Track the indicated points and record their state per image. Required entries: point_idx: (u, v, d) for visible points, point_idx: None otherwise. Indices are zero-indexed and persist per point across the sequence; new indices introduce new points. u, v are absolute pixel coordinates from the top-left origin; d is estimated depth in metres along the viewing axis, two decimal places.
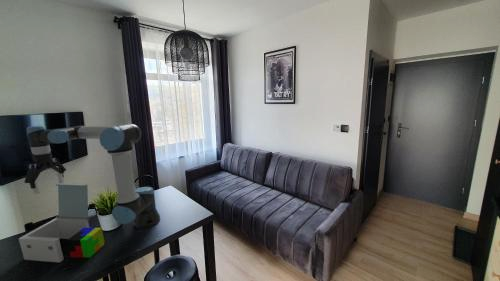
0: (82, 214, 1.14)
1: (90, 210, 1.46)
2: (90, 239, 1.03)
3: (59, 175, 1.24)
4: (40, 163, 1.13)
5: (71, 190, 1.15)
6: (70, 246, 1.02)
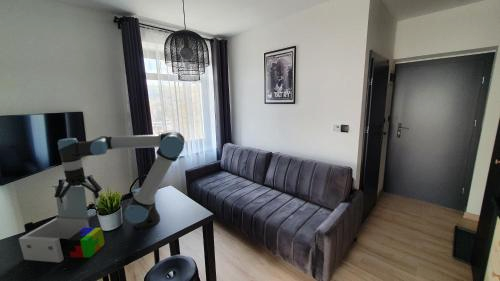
0: (82, 214, 1.14)
1: (90, 210, 1.46)
2: (90, 239, 1.03)
3: None
4: (68, 179, 1.03)
5: (69, 191, 1.13)
6: (70, 246, 1.02)
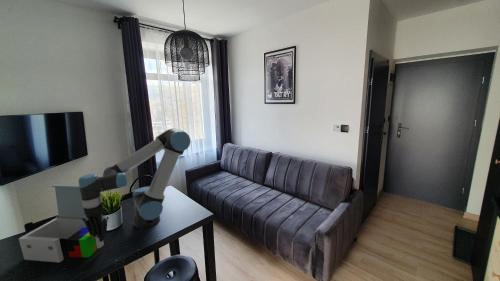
0: (82, 214, 1.14)
1: None
2: (88, 239, 1.03)
3: None
4: (87, 215, 1.02)
5: (69, 191, 1.13)
6: (69, 246, 1.02)
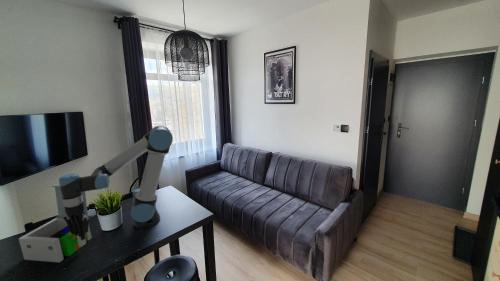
0: None
1: (90, 210, 1.46)
2: (69, 238, 1.04)
3: None
4: (68, 214, 1.03)
5: None
6: None
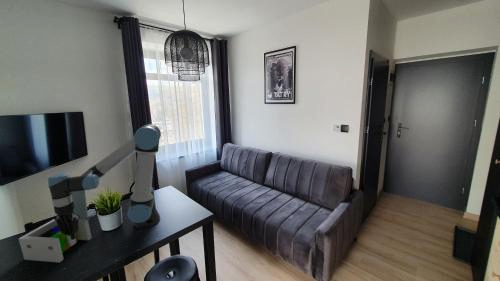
0: (82, 214, 1.14)
1: (90, 210, 1.46)
2: (59, 237, 1.04)
3: None
4: (58, 213, 1.03)
5: None
6: None
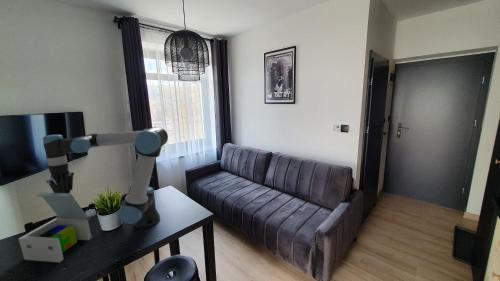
0: (80, 216, 1.13)
1: (90, 210, 1.46)
2: (59, 237, 1.04)
3: None
4: (55, 175, 1.05)
5: (57, 199, 1.07)
6: None
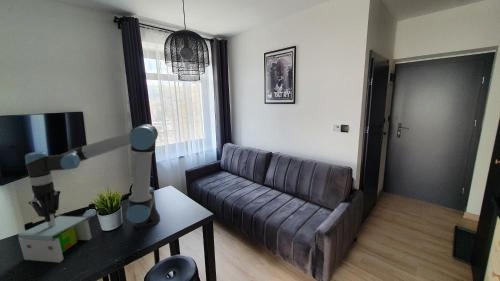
0: None
1: (90, 210, 1.46)
2: (59, 237, 1.04)
3: None
4: (39, 195, 0.98)
5: None
6: None
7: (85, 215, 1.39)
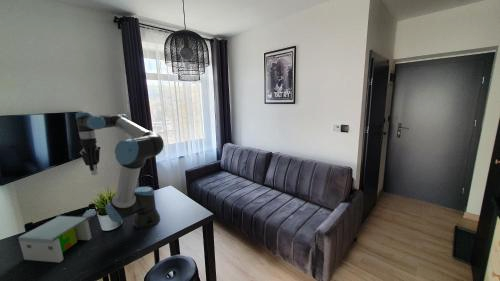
0: None
1: (90, 210, 1.46)
2: (59, 237, 1.04)
3: None
4: (86, 147, 1.20)
5: None
6: None
7: (85, 215, 1.39)
